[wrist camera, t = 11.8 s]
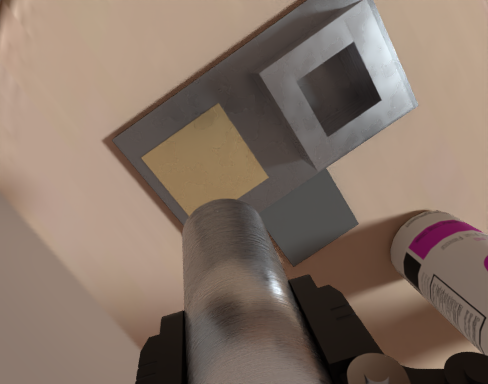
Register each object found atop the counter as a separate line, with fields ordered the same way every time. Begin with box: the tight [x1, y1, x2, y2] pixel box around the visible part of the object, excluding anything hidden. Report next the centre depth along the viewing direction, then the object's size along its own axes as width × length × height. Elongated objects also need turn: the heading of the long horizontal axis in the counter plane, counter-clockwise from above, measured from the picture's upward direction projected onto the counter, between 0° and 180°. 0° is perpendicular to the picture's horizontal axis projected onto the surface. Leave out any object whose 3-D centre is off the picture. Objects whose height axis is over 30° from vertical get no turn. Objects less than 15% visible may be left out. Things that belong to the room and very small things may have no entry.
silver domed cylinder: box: [182, 199, 334, 384], centre depth 10 cm, size 4×4×12 cm
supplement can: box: [390, 210, 488, 356], centre depth 31 cm, size 8×8×15 cm
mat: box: [258, 168, 359, 267], centre depth 34 cm, size 8×8×1 cm
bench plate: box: [112, 0, 418, 225], centre depth 29 cm, size 13×24×5 cm, turn 123°
